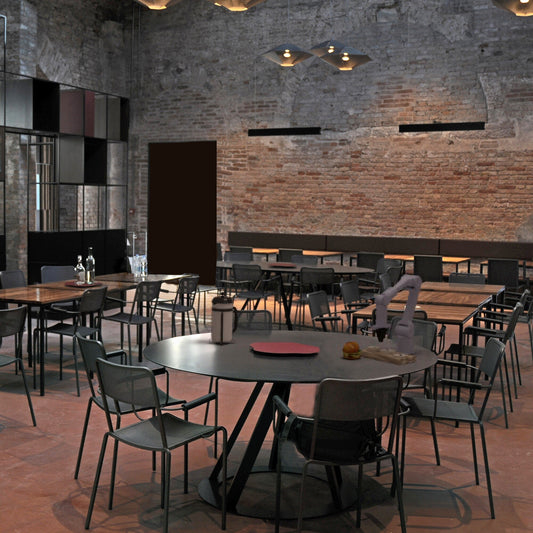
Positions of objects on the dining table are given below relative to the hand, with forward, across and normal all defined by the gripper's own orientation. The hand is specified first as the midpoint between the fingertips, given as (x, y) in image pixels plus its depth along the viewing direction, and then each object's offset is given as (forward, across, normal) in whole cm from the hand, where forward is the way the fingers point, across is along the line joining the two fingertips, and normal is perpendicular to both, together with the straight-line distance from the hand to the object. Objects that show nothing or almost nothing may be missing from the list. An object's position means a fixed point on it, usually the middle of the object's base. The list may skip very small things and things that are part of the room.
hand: (380, 341), depth 401 cm
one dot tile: (+6, 0, +4) cm, 7 cm away
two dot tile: (+6, 0, -5) cm, 8 cm away
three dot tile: (+7, 0, -14) cm, 16 cm away
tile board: (+8, 0, -5) cm, 10 cm away
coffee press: (+9, -44, +81) cm, 93 cm away
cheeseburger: (+9, -14, +8) cm, 19 cm away
